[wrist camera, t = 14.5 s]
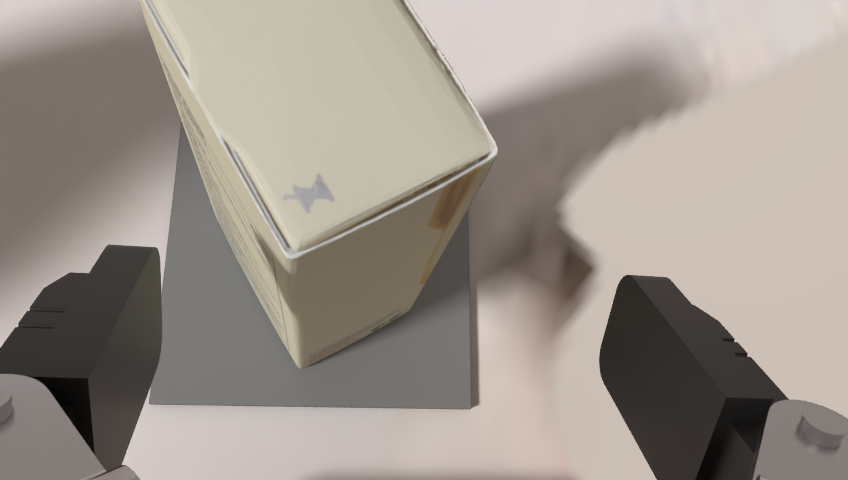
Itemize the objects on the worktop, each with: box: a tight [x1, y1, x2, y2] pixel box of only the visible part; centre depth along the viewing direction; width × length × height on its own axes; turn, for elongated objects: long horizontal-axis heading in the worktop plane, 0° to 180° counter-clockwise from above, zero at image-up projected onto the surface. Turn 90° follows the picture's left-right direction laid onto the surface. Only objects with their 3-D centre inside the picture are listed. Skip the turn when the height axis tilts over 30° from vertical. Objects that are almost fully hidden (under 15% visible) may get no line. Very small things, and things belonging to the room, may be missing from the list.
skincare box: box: [138, 0, 498, 369], centre depth 18 cm, size 6×4×12 cm
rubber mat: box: [149, 123, 471, 409], centre depth 24 cm, size 10×10×1 cm
